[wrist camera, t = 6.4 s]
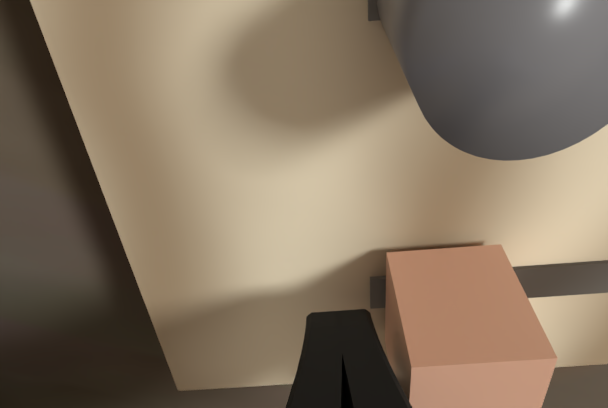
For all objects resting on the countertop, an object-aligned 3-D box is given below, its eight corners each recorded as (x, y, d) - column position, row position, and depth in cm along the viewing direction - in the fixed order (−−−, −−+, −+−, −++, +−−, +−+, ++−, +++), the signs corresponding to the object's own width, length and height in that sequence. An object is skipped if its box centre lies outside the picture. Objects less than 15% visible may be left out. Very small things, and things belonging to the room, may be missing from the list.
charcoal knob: (375, 76, 9) (406, 168, 7) (376, -111, 7) (416, -81, 5) (538, 63, 9) (632, 151, 6) (576, -130, 7) (719, -110, 5)
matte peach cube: (384, 340, 13) (405, 456, 11) (386, 252, 11) (411, 367, 9) (483, 334, 13) (527, 449, 11) (500, 244, 11) (557, 358, 9)
